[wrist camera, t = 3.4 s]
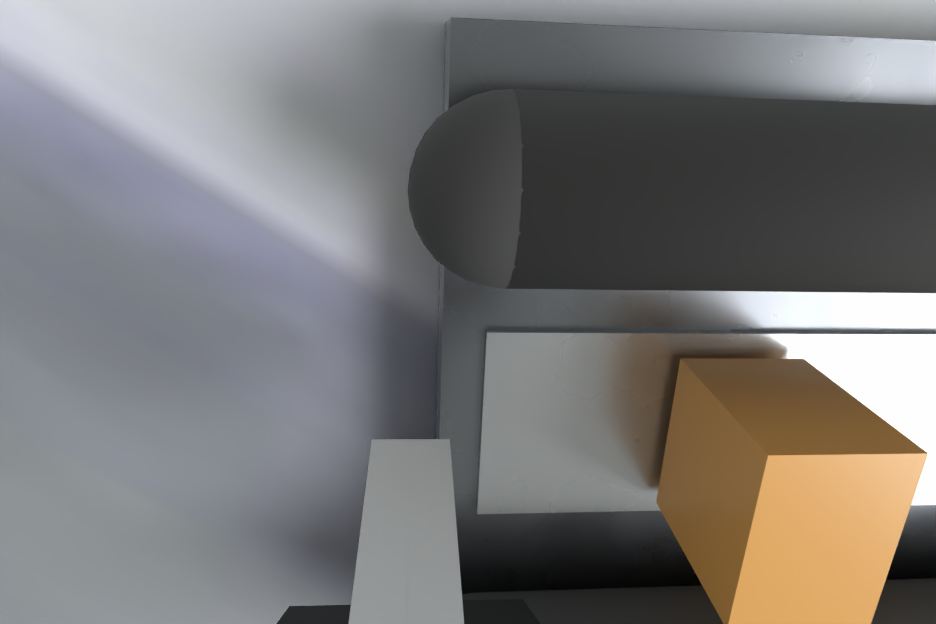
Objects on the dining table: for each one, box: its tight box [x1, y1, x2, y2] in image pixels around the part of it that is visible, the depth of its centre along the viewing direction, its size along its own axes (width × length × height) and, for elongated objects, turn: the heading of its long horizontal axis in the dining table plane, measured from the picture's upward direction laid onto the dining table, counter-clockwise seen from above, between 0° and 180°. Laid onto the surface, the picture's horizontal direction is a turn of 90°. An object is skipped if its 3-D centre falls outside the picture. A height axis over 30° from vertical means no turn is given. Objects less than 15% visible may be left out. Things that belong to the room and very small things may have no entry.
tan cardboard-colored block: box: [656, 358, 928, 624], centre depth 14 cm, size 3×4×4 cm
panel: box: [436, 18, 936, 594], centre depth 18 cm, size 26×18×2 cm
